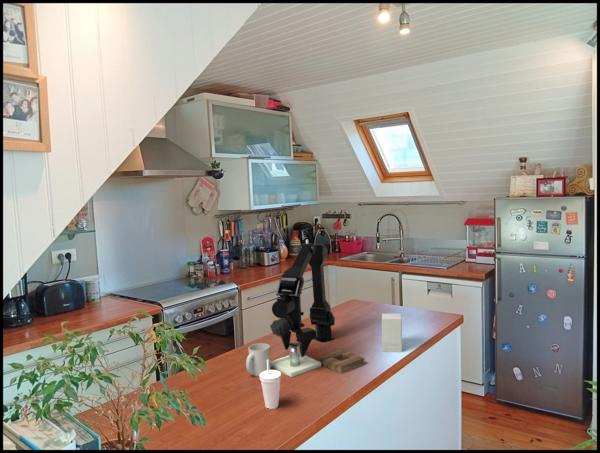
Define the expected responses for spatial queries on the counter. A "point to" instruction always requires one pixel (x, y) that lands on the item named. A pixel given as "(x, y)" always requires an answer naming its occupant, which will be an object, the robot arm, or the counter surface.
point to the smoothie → (270, 386)
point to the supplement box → (391, 333)
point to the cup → (258, 358)
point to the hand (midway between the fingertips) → (294, 353)
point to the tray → (290, 371)
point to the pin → (294, 354)
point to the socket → (342, 361)
